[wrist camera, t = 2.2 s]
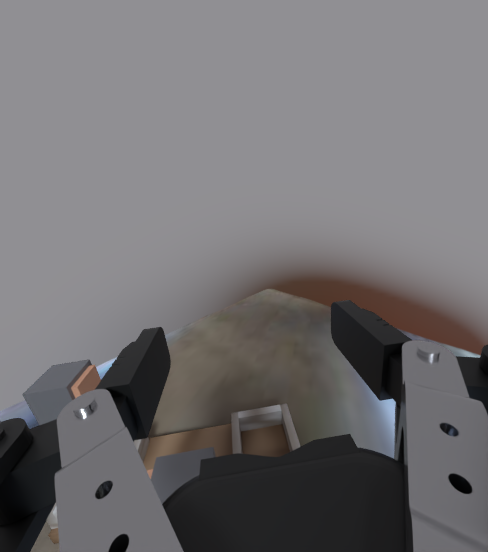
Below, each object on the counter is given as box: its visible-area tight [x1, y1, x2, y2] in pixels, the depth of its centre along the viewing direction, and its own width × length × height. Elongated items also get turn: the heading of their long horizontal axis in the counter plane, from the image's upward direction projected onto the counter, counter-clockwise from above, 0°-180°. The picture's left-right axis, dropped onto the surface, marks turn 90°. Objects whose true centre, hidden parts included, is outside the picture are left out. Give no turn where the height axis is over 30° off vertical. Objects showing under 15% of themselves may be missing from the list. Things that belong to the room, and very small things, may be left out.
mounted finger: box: [23, 360, 101, 425], centre depth 26 cm, size 5×4×16 cm
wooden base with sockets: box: [46, 403, 301, 544], centre depth 29 cm, size 28×9×4 cm, turn 95°
